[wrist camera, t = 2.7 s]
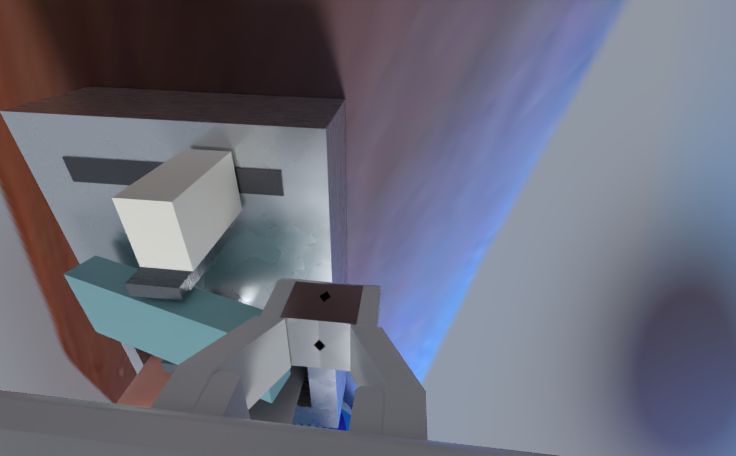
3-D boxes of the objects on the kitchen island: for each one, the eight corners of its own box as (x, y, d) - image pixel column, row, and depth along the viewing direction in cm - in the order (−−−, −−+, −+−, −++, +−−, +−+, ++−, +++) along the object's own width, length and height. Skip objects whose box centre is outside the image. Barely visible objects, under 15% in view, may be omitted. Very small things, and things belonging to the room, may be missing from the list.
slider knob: (185, 148, 15) (111, 197, 11) (230, 151, 15) (171, 202, 11) (200, 206, 17) (139, 266, 13) (242, 210, 16) (193, 271, 13)
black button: (245, 324, 25) (203, 407, 20) (308, 330, 24) (282, 416, 19) (255, 365, 27) (219, 448, 22) (312, 371, 27) (289, 457, 22)
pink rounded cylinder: (163, 316, 25) (101, 396, 20) (223, 322, 25) (176, 404, 20) (179, 357, 28) (127, 437, 23) (234, 363, 27) (195, 445, 22)
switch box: (88, 86, 19) (-95, 137, 12) (345, 99, 18) (304, 161, 11) (189, 352, 31) (124, 455, 24) (348, 368, 30) (329, 481, 23)
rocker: (95, 255, 18) (63, 274, 17) (281, 315, 15) (259, 344, 14) (122, 311, 21) (95, 331, 19) (290, 374, 17) (271, 403, 16)
